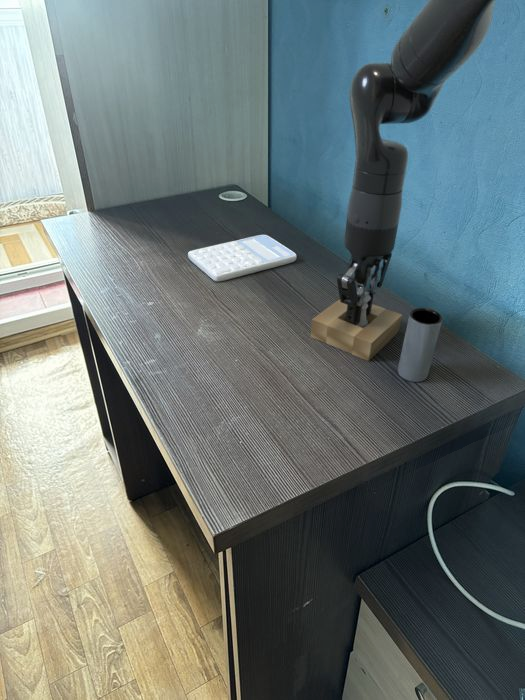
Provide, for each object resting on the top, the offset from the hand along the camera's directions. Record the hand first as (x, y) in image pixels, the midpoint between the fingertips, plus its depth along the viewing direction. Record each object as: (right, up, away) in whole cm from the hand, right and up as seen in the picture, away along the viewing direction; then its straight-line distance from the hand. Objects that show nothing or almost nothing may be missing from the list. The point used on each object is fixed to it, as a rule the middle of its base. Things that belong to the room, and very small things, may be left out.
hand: (358, 317), depth 86 cm
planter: (+7, -9, -6) cm, 13 cm away
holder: (0, -3, +2) cm, 3 cm away
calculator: (-20, +14, +25) cm, 35 cm away
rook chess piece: (0, -3, +2) cm, 3 cm away
